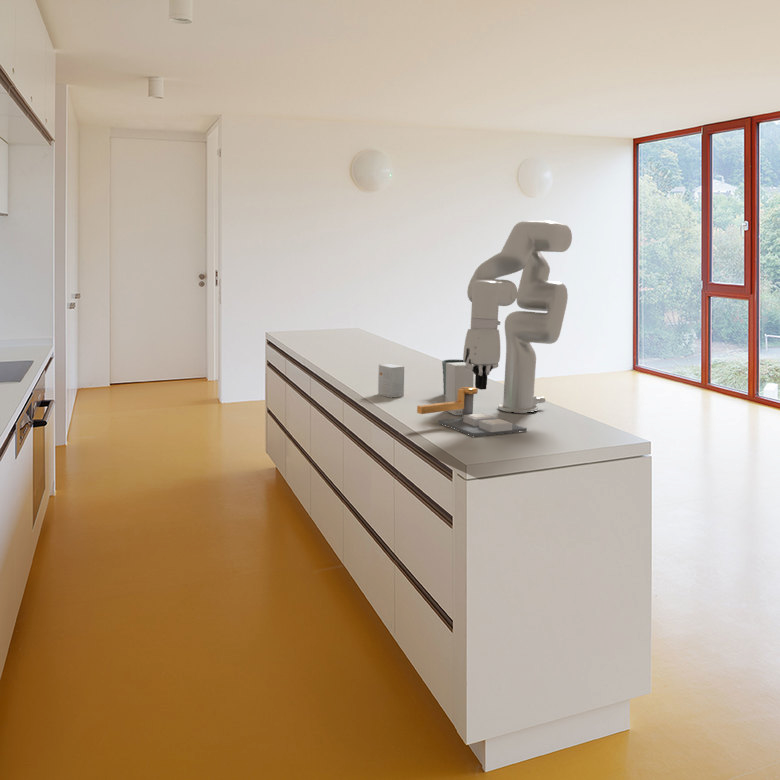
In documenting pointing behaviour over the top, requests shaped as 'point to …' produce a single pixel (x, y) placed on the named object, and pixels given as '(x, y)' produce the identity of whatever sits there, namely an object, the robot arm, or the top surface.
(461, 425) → the sled board
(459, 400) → the orange crank handle
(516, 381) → the robot arm
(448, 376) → the skincare box
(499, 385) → the top surface
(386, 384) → the small box
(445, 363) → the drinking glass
